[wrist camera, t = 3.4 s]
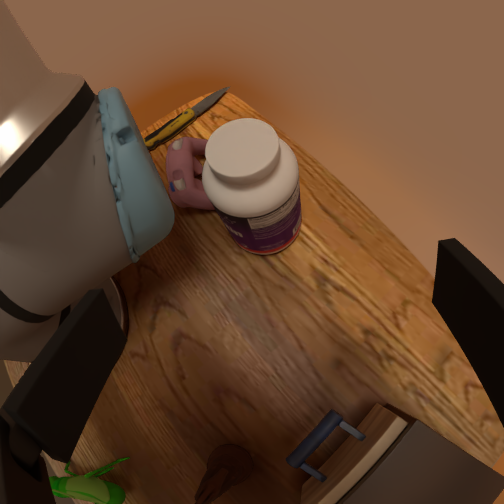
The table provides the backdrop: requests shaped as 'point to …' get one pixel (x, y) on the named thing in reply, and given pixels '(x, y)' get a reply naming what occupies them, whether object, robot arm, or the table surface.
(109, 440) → the table surface
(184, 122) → the utility knife
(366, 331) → the table surface
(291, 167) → the pill bottle
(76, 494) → the toy
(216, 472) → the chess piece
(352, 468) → the drawer
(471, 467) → the cabinet
